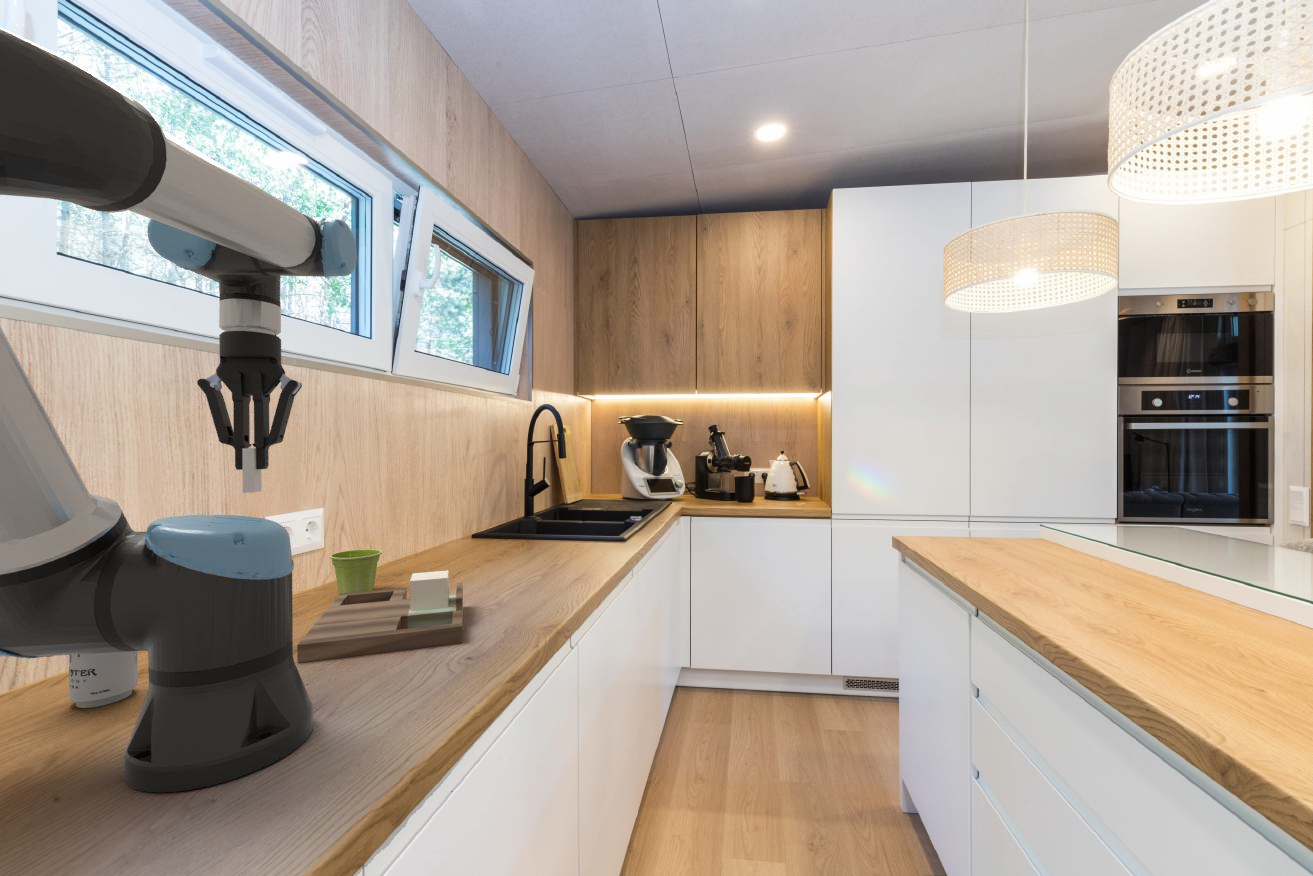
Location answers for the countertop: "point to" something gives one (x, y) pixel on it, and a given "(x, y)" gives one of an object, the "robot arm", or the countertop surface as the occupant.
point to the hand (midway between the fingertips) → (252, 491)
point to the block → (429, 590)
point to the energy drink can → (102, 677)
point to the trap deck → (380, 625)
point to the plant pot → (355, 569)
